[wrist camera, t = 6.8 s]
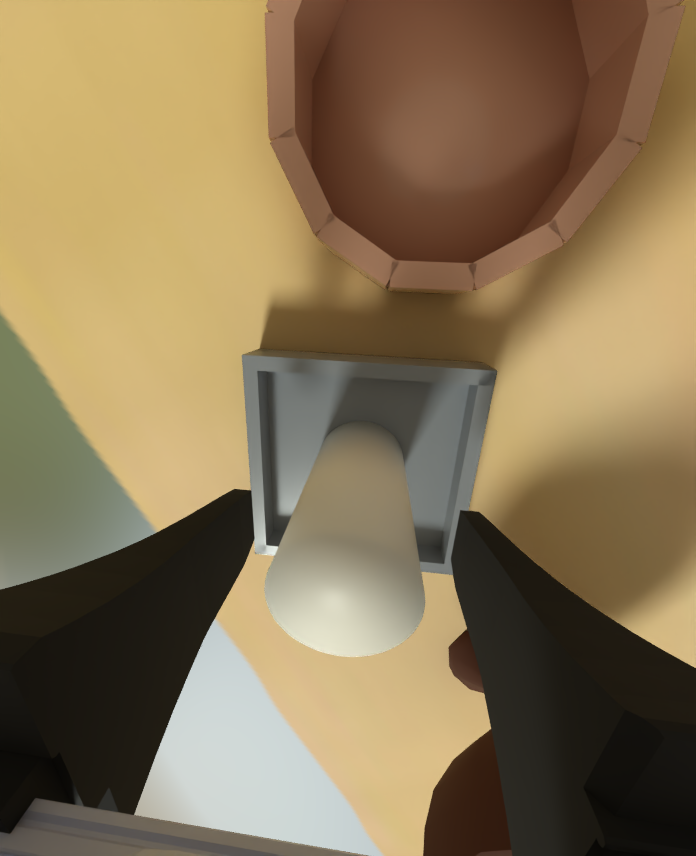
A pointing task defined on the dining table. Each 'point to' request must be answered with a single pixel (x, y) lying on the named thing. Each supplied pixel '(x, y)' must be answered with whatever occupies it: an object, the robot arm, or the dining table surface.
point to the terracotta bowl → (459, 125)
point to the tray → (373, 402)
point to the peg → (350, 550)
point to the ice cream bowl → (468, 786)
